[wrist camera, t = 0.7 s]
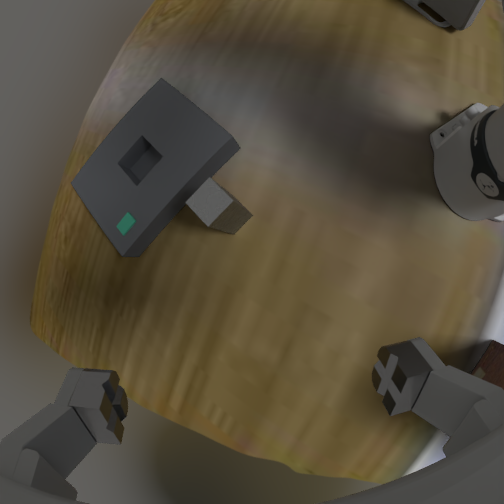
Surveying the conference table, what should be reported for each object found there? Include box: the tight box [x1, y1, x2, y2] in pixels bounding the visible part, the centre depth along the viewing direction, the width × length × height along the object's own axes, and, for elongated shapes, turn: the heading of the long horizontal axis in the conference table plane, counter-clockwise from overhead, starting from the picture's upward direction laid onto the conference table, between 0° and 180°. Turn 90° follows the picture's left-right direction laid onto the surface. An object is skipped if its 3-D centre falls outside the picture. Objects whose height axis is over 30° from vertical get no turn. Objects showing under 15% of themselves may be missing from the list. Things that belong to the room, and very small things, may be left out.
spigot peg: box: [185, 177, 253, 234], centre depth 39 cm, size 4×4×12 cm
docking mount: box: [71, 78, 240, 257], centre depth 45 cm, size 24×18×5 cm
